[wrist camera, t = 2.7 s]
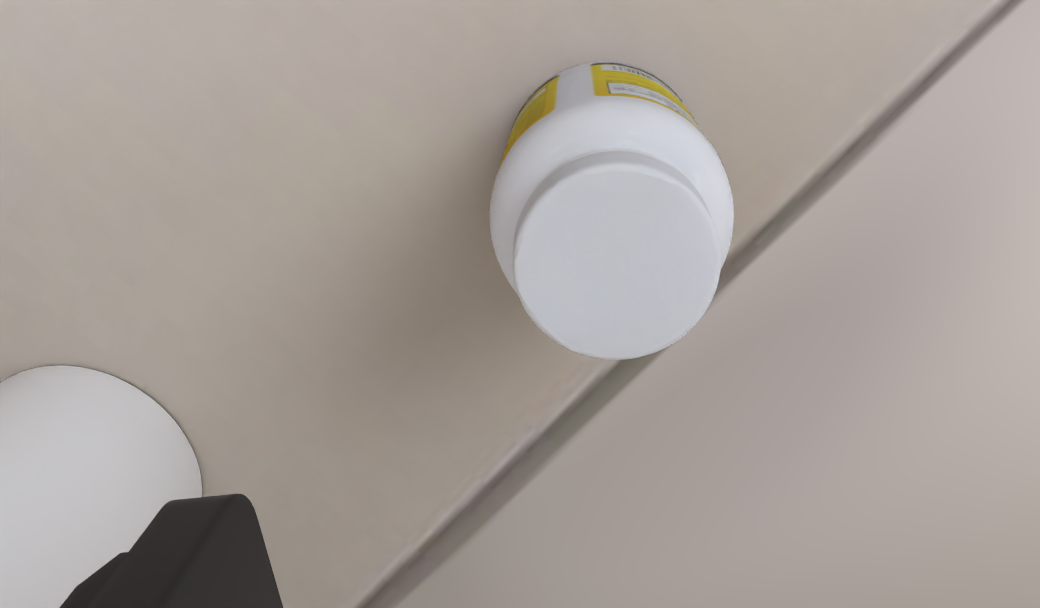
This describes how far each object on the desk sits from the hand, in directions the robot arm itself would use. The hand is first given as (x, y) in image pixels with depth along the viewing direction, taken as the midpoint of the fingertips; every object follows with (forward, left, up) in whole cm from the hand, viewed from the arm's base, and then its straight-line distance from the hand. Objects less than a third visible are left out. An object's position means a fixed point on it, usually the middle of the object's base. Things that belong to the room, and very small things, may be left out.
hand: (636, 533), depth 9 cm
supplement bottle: (0, 0, -19) cm, 19 cm away
